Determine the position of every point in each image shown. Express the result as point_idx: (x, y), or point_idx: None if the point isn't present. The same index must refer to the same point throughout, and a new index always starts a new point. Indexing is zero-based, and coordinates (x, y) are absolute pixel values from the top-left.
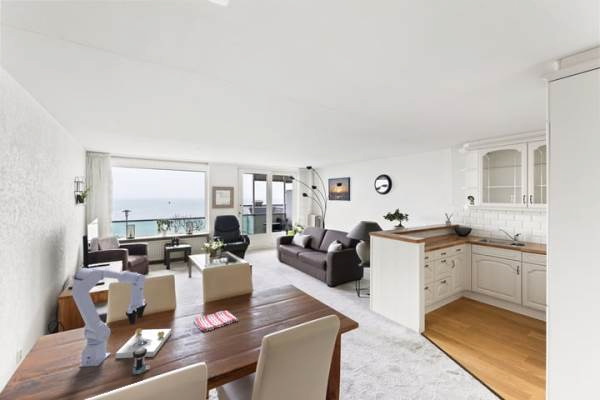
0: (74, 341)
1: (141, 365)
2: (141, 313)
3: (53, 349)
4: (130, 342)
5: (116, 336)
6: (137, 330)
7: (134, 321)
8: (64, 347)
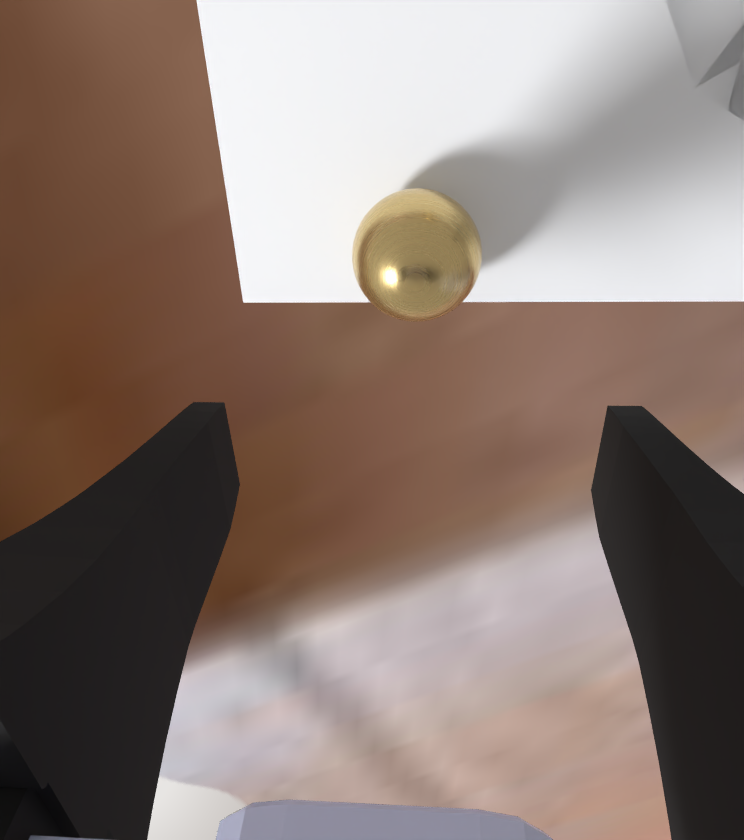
0: (413, 769)
1: None
2: (179, 493)
3: (530, 816)
4: (724, 235)
5: (325, 526)
6: (464, 281)
7: (694, 454)
8: (511, 781)
